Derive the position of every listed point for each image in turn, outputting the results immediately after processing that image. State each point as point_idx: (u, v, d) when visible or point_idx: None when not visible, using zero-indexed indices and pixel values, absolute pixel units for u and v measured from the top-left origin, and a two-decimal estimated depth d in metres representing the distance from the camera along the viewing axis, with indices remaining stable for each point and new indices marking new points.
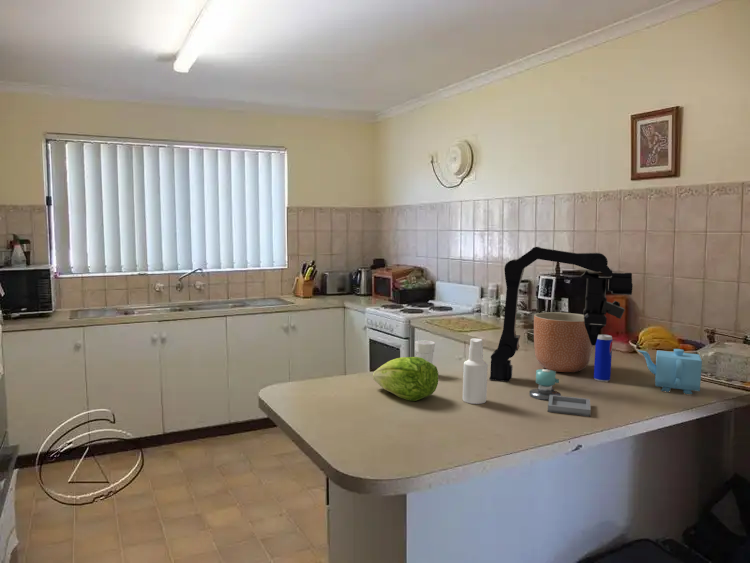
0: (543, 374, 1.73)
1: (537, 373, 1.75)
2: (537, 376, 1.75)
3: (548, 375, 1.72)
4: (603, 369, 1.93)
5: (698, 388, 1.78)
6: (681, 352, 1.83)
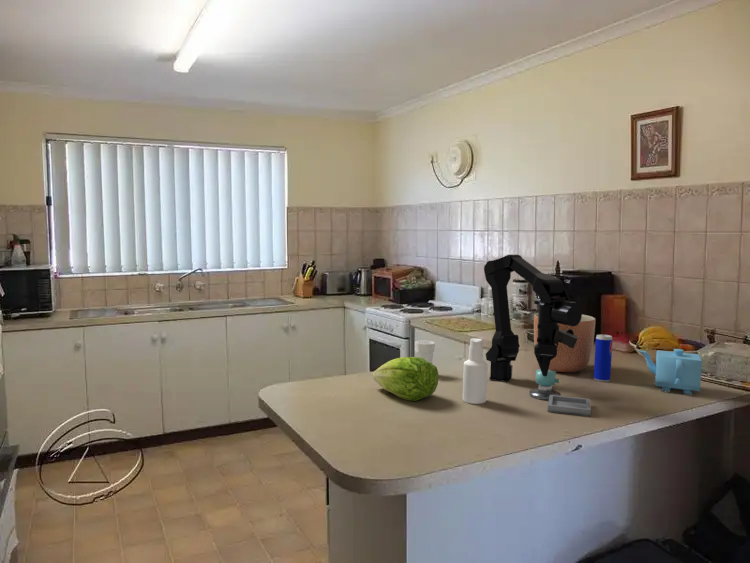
0: None
1: (537, 373, 1.75)
2: (537, 376, 1.75)
3: (548, 375, 1.72)
4: (603, 369, 1.93)
5: (698, 388, 1.78)
6: (681, 352, 1.83)
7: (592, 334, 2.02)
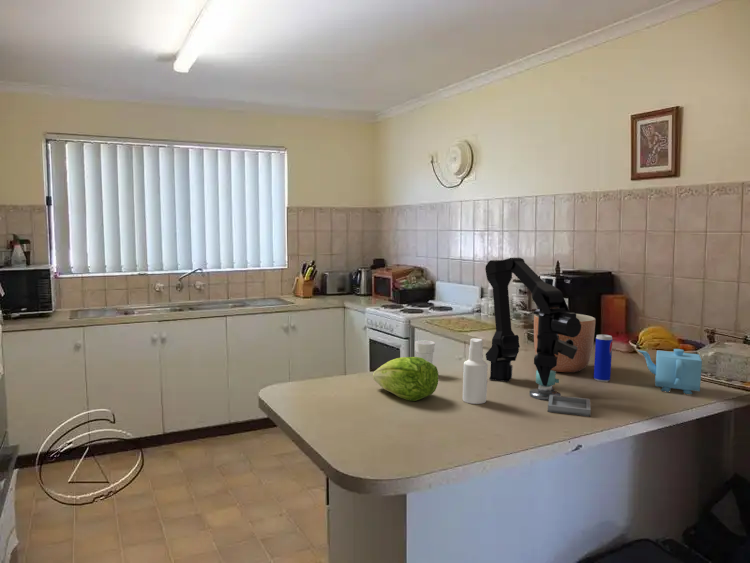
0: None
1: (537, 373, 1.75)
2: (537, 376, 1.75)
3: None
4: (603, 369, 1.93)
5: (698, 388, 1.78)
6: (681, 352, 1.83)
7: (592, 334, 2.02)
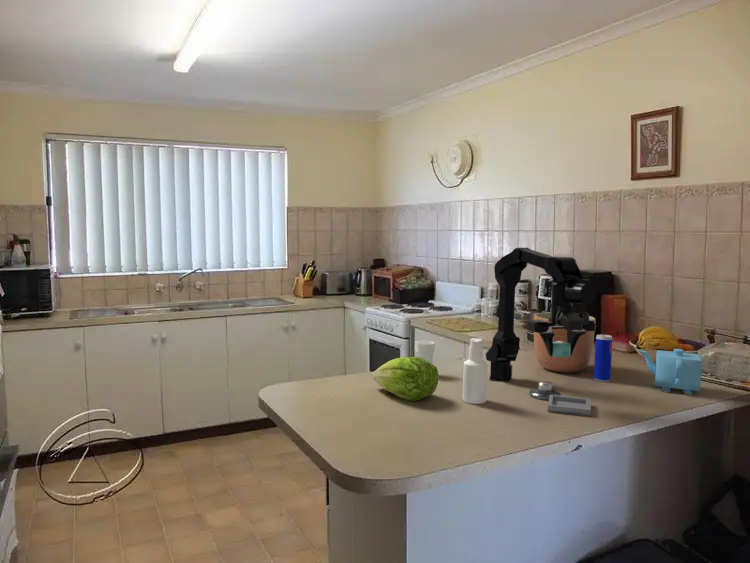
0: None
1: None
2: None
3: (553, 345, 1.67)
4: (603, 369, 1.93)
5: (698, 388, 1.78)
6: (681, 352, 1.83)
7: (592, 334, 2.02)
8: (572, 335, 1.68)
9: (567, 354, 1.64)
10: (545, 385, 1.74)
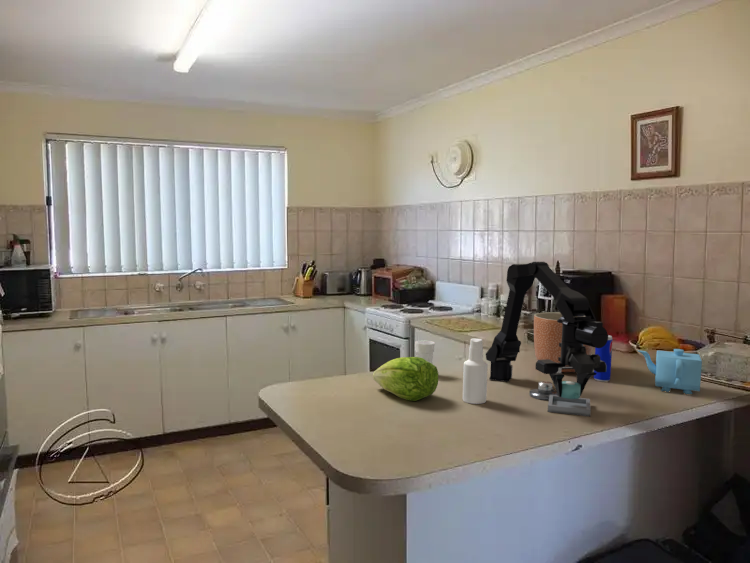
0: None
1: None
2: None
3: (562, 386, 1.62)
4: None
5: (698, 388, 1.78)
6: (681, 352, 1.83)
7: None
8: (582, 375, 1.63)
9: (577, 396, 1.60)
10: (545, 385, 1.74)
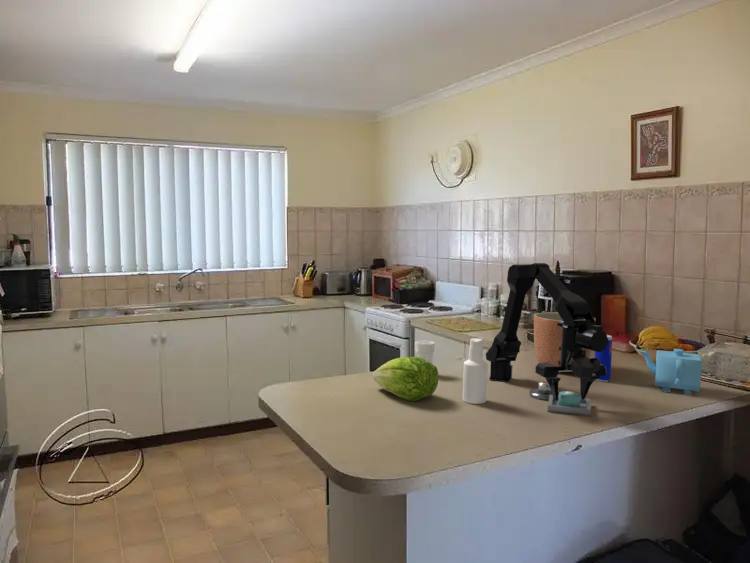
0: (559, 394, 1.64)
1: None
2: None
3: (562, 397, 1.62)
4: None
5: (698, 388, 1.78)
6: (681, 352, 1.83)
7: None
8: (586, 379, 1.64)
9: (576, 406, 1.60)
10: (545, 385, 1.74)
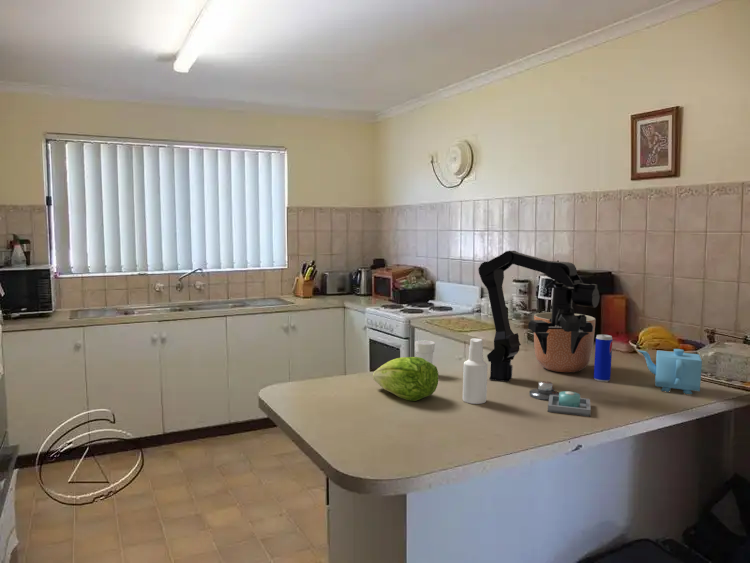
0: (559, 394, 1.64)
1: None
2: None
3: (562, 397, 1.62)
4: (603, 369, 1.93)
5: (698, 388, 1.78)
6: (681, 352, 1.83)
7: (592, 334, 2.02)
8: (576, 335, 1.80)
9: (576, 406, 1.60)
10: (545, 385, 1.74)
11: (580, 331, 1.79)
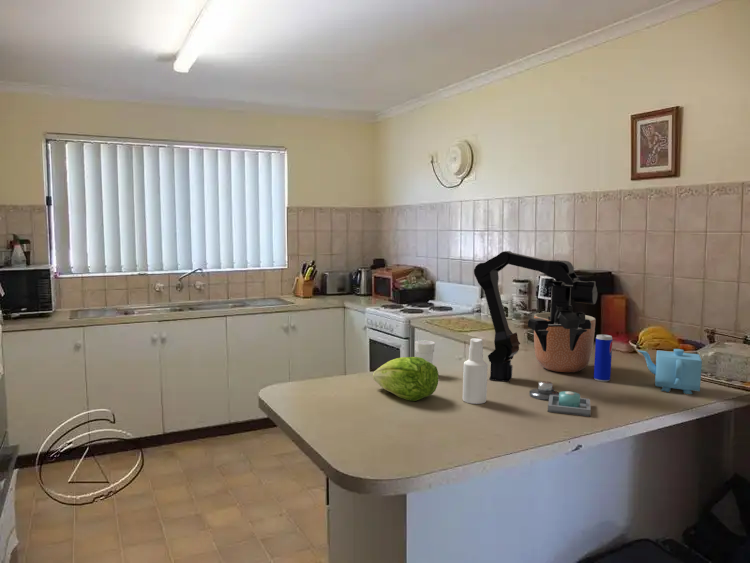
0: (559, 394, 1.64)
1: None
2: None
3: (562, 397, 1.62)
4: (603, 369, 1.93)
5: (698, 388, 1.78)
6: (681, 352, 1.83)
7: (592, 334, 2.02)
8: (574, 332, 1.83)
9: (576, 406, 1.60)
10: (545, 385, 1.74)
11: (579, 328, 1.82)
